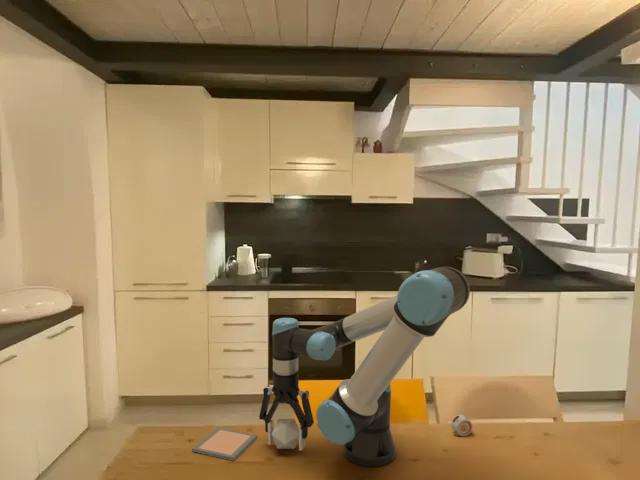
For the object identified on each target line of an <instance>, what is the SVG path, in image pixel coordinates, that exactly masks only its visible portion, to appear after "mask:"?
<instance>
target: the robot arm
mask: <svg viewBox="0 0 640 480" xmlns="http://www.w3.org/2000/svg"><path fill="white" fill-rule="evenodd" d="M470 294H471V290H470V283H469V281H468V279H467V277H466V276H465V275H464V274H463V273H462V272H461V271H460V270H459V269H456V268H454V267H450V266H439V267H434V268H432V269H429V270H428V269H427V270H421V271H420V270H419V271H418V272H415V273H414V274H411V276H408V277H407V278H405V280H404V281H403V282H402V283H401V285H400V287H399V288H398V292H397V294H396V295H393V296H392V297H390V298H387V299H385V300H383V301H380V302H377V303H376V304H373V305H370V306H369V307H366V308H363V309H362V310H359V311H357V312H355V313H352V314H350V315H348V316H345V317H344V318H341V319H339V320H337V321H334V322H331V323H329V324H326V325H323V326H320V327H317V328H314V329H306V328H301V327H299V321H298V320H297V319H296V318H293V317H280V318H277V319H275V320H274V321H273V322H272V332H271V337H272V339H271V340H272V384H273V386H270V385H267V386H266V387H264V388H263V390H262V391H263V398H262V402H261V407H260V411H259V416H258V419H259V420H263V421H264V423H265V425H264V427H265V428H264V430H265V432H266V433H267V445H268V446H269V445H270V446H271V445H272V444H273V443H275V442H274V439H273V437H272V433H273V430H274V428H275V419H273V416H274V414H275V412H276V410H277V409H278V407H279V405H280V404H286V405H289V406H290V407H291V408H292V410H293V412H294V414H295V416H296V418H297V421H298V423H299V425H300V427H298V428H299V438H298V451H303V449H304V448H305V447H306V439H307V438H308V436H309V435H308V432H309V431H308V430H309V428H311V427H312V426H313V425H314V424H315V422H314V416H313V412H312V407H311V403H310V399H309V397H310V396H309V395H310V392H309V391H308V390H306V391H304V390H300V387H299V382H300V381H299V356H301V357H304V358H305V357H306V358H309V359H312V360H316V361H328V360H330V359H331V358H332V356H333V355H334V354H335V351H336V350H337V349H340V348H341V347H344V346H347V345H349V344H352V343H354V342H356V341H360V340H361V339H364V338H367V337H370V336H372V335H375V334H377V333H380V332H382V331H383V332H382V333H381V334H380V335H379V337H378V339H377V340H376V341H375V343H374V345H373V346H372V348H370V350H369V352H368V353H367V354H366V355H365V357H364V359H363V360H362V362H360V365H359V366H358V367H357V368H356V370H355V372H354V373H353V374H352V375H351V377H350V379H349V378H347V379H343V380H342V381H341V382H340V383H339V384H338V386H337V388H336V389H335V390H334V392H333V393H332V394H331V396H330V397H329V398H327V399H325V400H323V401H321V403H320V404H319V405H318V407H317V410H316V414H315V417H316V419H315V420H316V421H317V426H318V429H319V431H320V432H321V433H322V435H323V436H324V437H325V438H326V439H327V440H328V441H329V442H331V443H332V444H335V445H336V444H337V445H341V446H343V454H344V456H345V457H346V459H347V460H348V461H350V462H351V463H353V464H356V465H358V466H361V467H368V468H369V467H370V468H373V467H374V468H377V467H378V468H379V467H383V466H386V465H389V464H391V463H392V462H393V461H394V460H395V458H396V453H397V452H396V444H395V441H394V437H393V435H392V431H391V403H392V402H391V397H392V394H391V393H392V389H391V386H392V385H391V383H392V381H393V380H394V379H395V377H396V375H397V374H398V373H399V372H400V371H401V369H402V368H403V366H404V365H405V364H406V362H407V361H408V360H409V358H410V357H411V356H412V354H413V353H414V351H415V350H416V349H417V348H418V346H419V345H420V344H421V342H422V341H423V340H424V339H425V338H432V337H434V336H435V335H436V333H437V332H438V331H439V330H440V328H441V327H442V326H443V324H444V323H446V320H447V319H448V318H449V316H451V315H452V314H454V313H456V312H458V311H459V310H462V308H464V306H465V305H466V304H467V303H468V301H469V299H470ZM272 394H273V395H274V397H275V398H274V399H273V402H272V404H271V406H270V408H269V404H270V401H271V397H272ZM298 396H299V399H300V400H301V404H300V400H299V399H298ZM301 406H302V407H301ZM268 408H269V410H268Z"/></svg>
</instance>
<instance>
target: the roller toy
mask: <svg viewBox="0 0 640 480" xmlns="http://www.w3.org/2000/svg"><path fill="white" fill-rule="evenodd" d="M450 423H451V424H450V425H451V428H452V434H453V435H454V436H456V437H457V436H461V437H466V436H469V434H471V433H472V431H473V423H472V421H471V419H469V418H468V417H467V416H466V415H464V414H456V415H455V416H453V418H452V420H451V422H450Z"/></svg>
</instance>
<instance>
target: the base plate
mask: <svg viewBox="0 0 640 480" xmlns="http://www.w3.org/2000/svg"><path fill="white" fill-rule="evenodd" d="M257 439H258V435H257V434H251V433H247V432H241V431H237V430H231V429H228V428H227V429H225V428H223V427H217V428H215V430H213V431H212V432H211V433H209V434H208V435H207V436H206V437H204V438H203V439H202V440H201V441H200V442H198V443H197V444H196V445H195V446H193V447H192V448H191V453H194V452H197V453H196V454H198V453H203V454H207V455H211V456H210V457H212V456H215V457H214V458H216V457H218V458H217V459H221V458H223V459H222V460H225V459H228V460H227V461H230V460H231V462H235V461H236V460H237V459H238V458H239V457H240V456H242V454H243V453H244V452H245V451H246V450H247V449H248V448H249V447H250V445H252V444H253V443H254V442H255V441H256V440H257ZM203 454H202V455H203ZM207 455H206V456H207ZM234 460H235V461H234Z"/></svg>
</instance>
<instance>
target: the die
mask: <svg viewBox="0 0 640 480" xmlns="http://www.w3.org/2000/svg"><path fill="white" fill-rule="evenodd" d="M299 428H300V427H299V426H298V423H297V421H296V418H278V419H277V420H276V423H275V424H274V430H273V433H272V437H273V439H274V442H273V443H274V444H275V446H276V449H279V450H284V449H285V450H287V449H289V450H290V449H291V450H293V449H295V448H296V446H297V443H298V442H299Z"/></svg>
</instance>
